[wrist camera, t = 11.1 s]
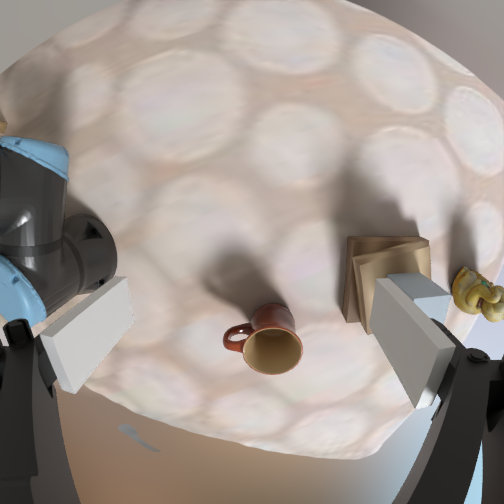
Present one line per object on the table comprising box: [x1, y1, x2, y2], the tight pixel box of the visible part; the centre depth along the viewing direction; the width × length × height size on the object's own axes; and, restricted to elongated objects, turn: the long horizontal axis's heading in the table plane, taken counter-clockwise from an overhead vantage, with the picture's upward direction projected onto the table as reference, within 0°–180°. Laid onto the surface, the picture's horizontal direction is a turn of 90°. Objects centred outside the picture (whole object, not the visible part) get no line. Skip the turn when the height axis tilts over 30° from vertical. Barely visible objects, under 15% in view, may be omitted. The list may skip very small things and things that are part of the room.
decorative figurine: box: [451, 267, 504, 322], centre depth 38 cm, size 10×8×15 cm
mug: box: [223, 303, 303, 375], centre depth 44 cm, size 12×9×10 cm
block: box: [387, 272, 451, 325], centre depth 34 cm, size 6×6×9 cm
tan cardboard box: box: [342, 236, 429, 323], centre depth 45 cm, size 14×14×4 cm
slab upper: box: [352, 240, 431, 335], centre depth 41 cm, size 12×12×4 cm
